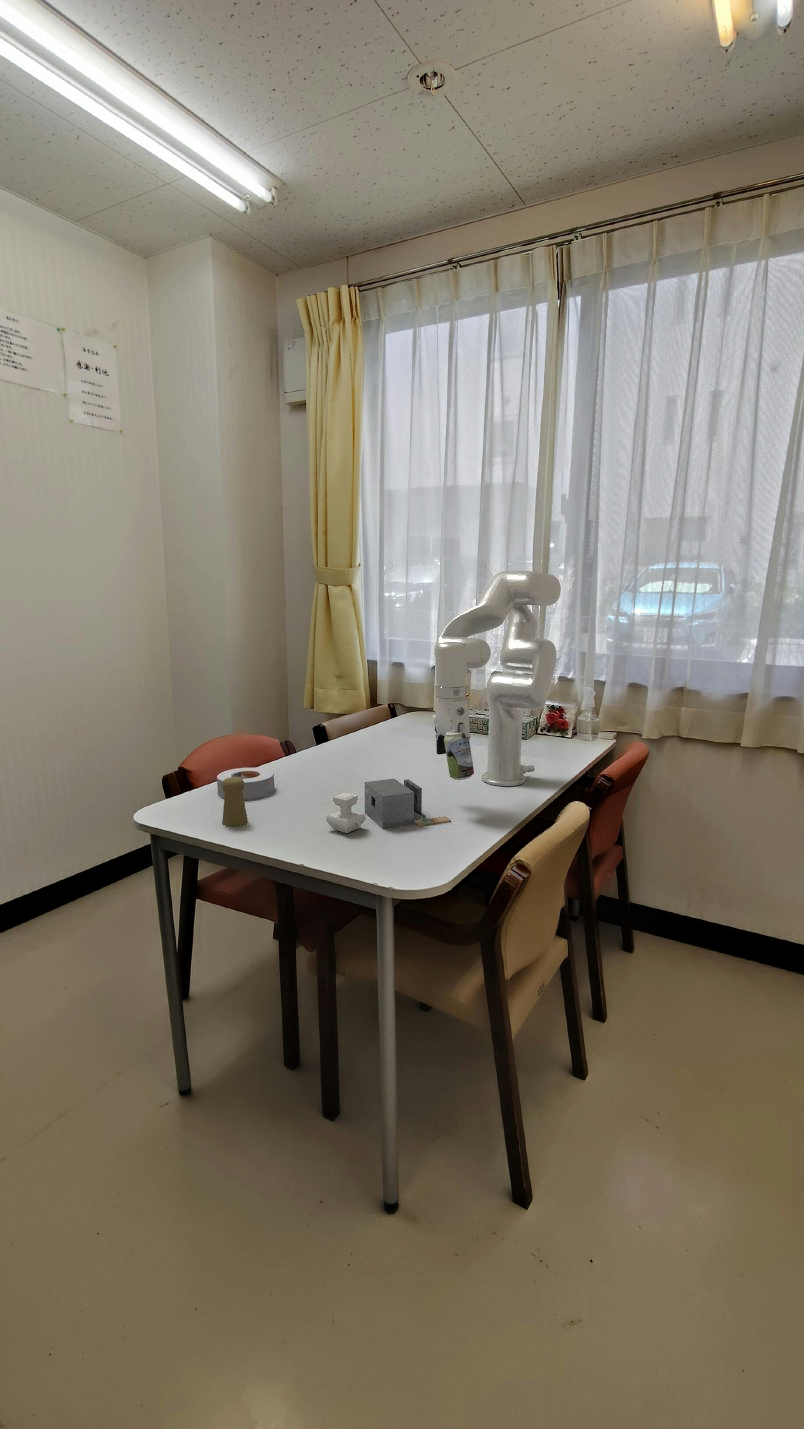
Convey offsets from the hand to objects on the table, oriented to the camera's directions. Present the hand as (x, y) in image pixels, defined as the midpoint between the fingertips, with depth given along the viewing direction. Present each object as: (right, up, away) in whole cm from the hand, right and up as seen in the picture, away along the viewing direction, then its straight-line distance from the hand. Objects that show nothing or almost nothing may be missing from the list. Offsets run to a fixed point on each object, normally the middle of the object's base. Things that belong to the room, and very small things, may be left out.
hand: (451, 758), depth 165 cm
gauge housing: (-16, -14, -5) cm, 22 cm away
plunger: (-13, -13, -5) cm, 19 cm away
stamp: (-26, -16, -12) cm, 32 cm away
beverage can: (+2, -5, -4) cm, 6 cm away
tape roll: (-55, -10, +16) cm, 59 cm away
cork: (-53, -15, -8) cm, 55 cm away
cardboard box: (-5, -15, -7) cm, 17 cm away
